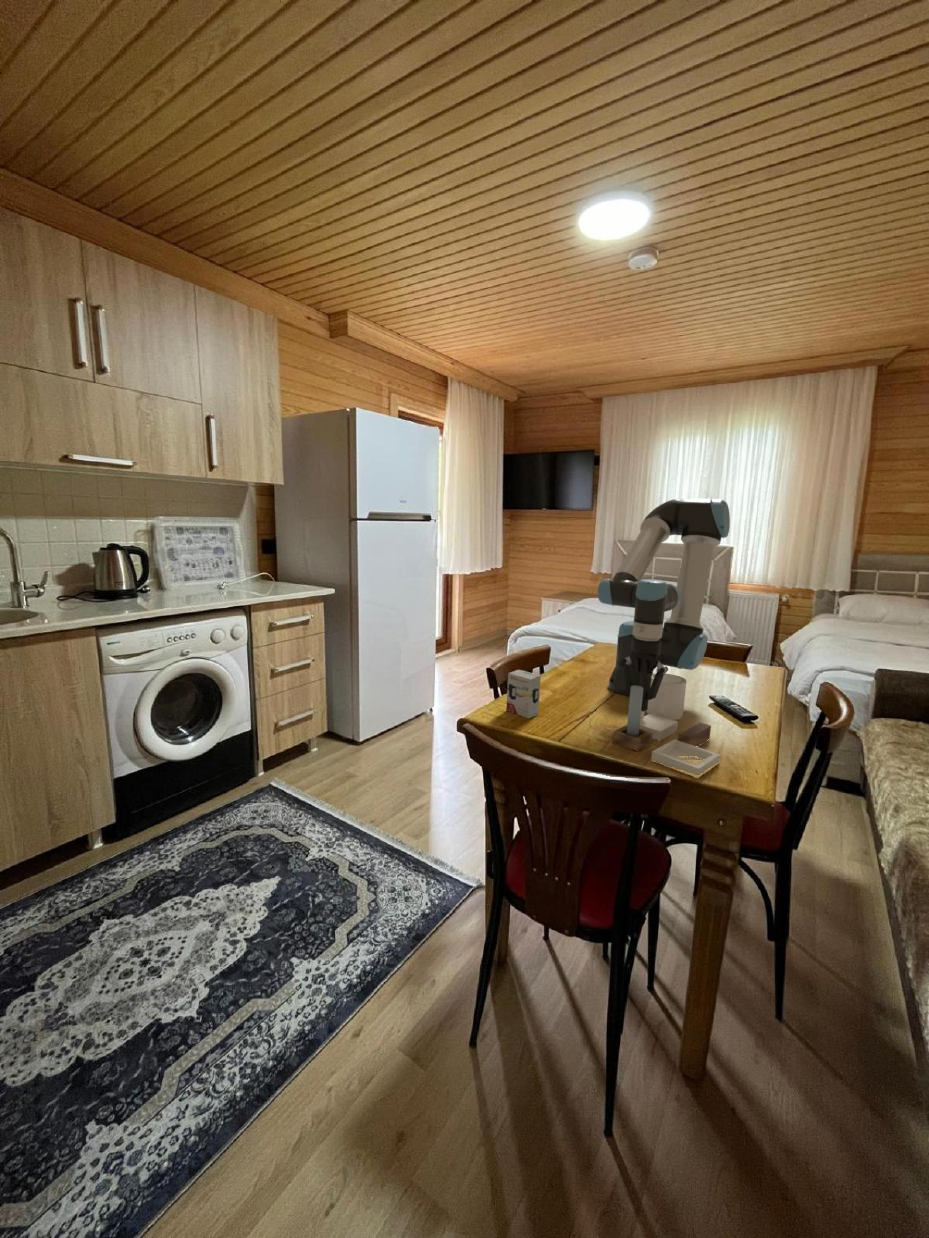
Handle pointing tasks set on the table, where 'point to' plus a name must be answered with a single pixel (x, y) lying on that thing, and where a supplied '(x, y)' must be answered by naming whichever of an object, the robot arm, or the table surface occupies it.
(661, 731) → the white flat block
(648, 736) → the socket block
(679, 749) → the tray
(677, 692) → the mug
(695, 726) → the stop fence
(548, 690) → the table surface
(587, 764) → the table surface
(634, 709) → the dowel
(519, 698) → the ink box
